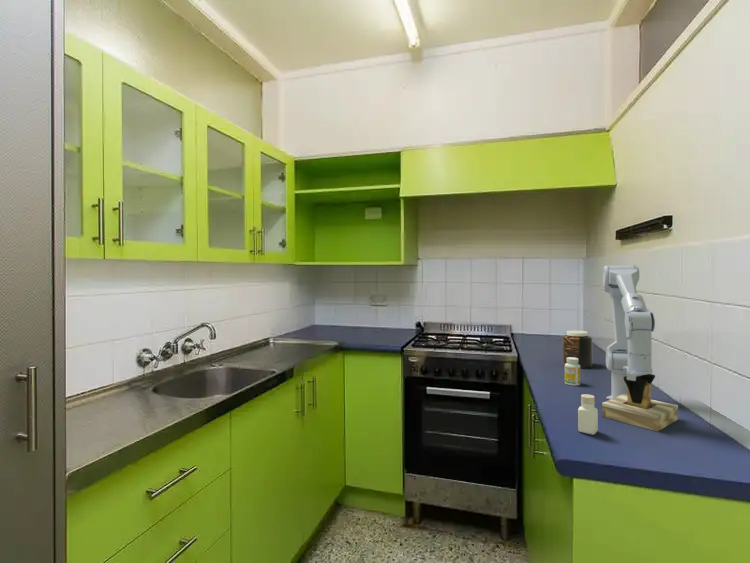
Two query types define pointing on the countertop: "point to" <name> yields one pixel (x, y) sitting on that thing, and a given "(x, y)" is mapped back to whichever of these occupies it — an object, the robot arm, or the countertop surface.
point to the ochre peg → (645, 400)
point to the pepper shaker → (587, 415)
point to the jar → (578, 348)
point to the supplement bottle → (572, 371)
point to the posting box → (640, 413)
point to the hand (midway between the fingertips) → (639, 400)
